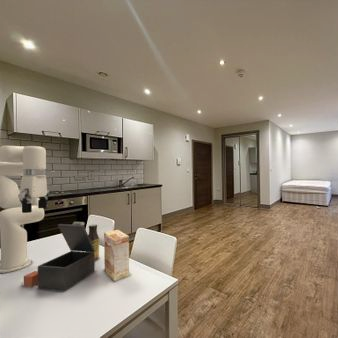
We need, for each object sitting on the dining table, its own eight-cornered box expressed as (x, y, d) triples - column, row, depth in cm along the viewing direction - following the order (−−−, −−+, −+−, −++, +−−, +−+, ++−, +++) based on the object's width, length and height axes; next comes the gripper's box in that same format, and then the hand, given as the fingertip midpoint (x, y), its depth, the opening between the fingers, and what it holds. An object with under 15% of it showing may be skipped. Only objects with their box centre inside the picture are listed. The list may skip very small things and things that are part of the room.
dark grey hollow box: (64, 291, 82) (64, 268, 82) (37, 288, 84) (37, 266, 84) (94, 271, 97) (94, 252, 97) (71, 269, 99) (71, 250, 99)
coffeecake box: (103, 270, 98) (103, 232, 98) (118, 264, 104) (118, 229, 104) (113, 281, 88) (113, 239, 88) (129, 275, 93) (129, 235, 93)
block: (23, 286, 85) (23, 276, 85) (34, 280, 90) (34, 270, 90) (31, 286, 85) (31, 276, 85) (42, 281, 89) (42, 271, 89)
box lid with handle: (82, 226, 90) (90, 219, 95) (57, 225, 92) (66, 218, 97) (94, 252, 97) (101, 244, 101) (70, 250, 99) (78, 243, 103)
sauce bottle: (92, 263, 106) (91, 227, 106) (82, 262, 107) (82, 226, 107) (101, 257, 112) (101, 223, 112) (93, 256, 114) (92, 223, 114)
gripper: (38, 172, 96) (39, 207, 96) (8, 173, 79) (8, 215, 79) (56, 172, 97) (56, 206, 97) (30, 173, 81) (30, 214, 81)
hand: (35, 210), depth 88 cm, fingers open, 9 cm apart
